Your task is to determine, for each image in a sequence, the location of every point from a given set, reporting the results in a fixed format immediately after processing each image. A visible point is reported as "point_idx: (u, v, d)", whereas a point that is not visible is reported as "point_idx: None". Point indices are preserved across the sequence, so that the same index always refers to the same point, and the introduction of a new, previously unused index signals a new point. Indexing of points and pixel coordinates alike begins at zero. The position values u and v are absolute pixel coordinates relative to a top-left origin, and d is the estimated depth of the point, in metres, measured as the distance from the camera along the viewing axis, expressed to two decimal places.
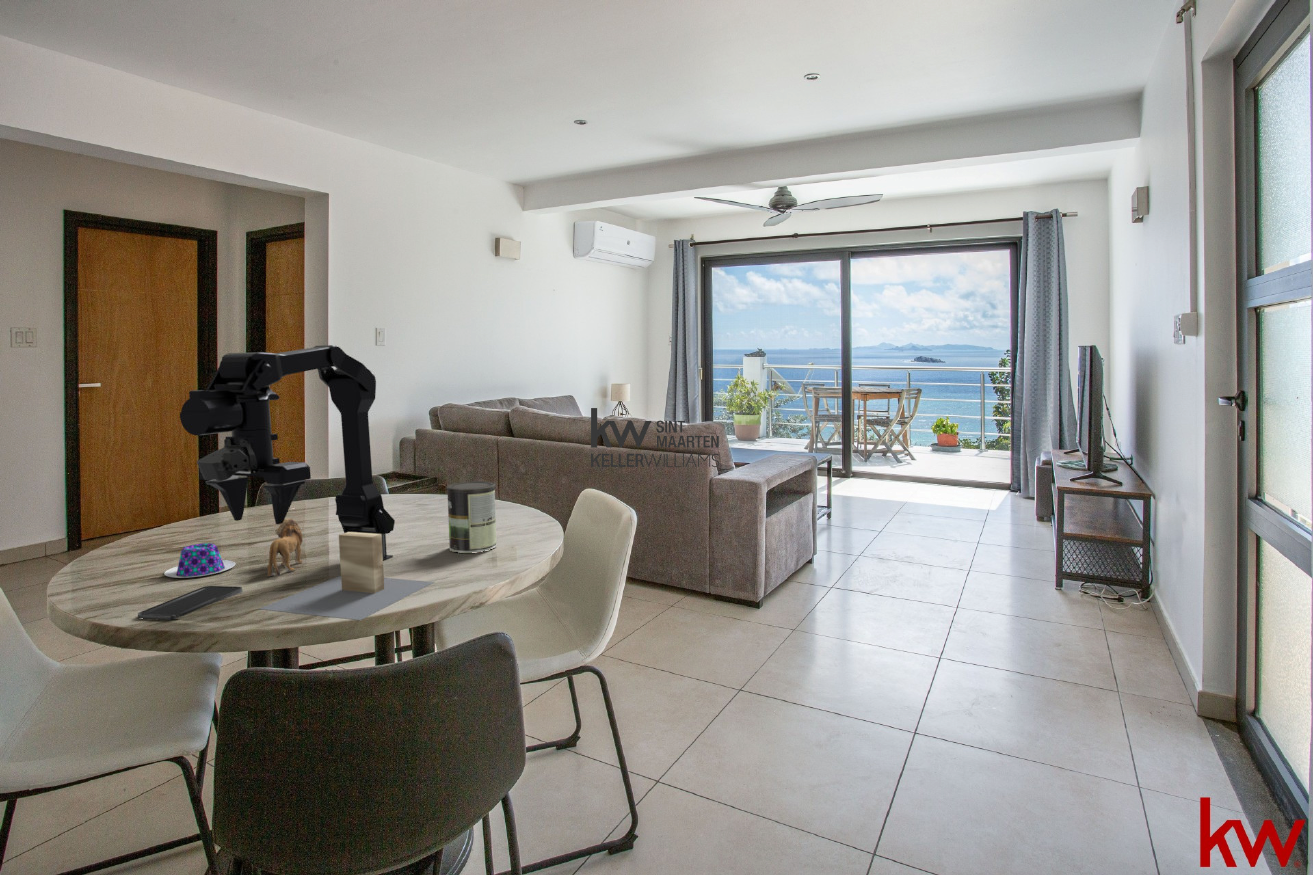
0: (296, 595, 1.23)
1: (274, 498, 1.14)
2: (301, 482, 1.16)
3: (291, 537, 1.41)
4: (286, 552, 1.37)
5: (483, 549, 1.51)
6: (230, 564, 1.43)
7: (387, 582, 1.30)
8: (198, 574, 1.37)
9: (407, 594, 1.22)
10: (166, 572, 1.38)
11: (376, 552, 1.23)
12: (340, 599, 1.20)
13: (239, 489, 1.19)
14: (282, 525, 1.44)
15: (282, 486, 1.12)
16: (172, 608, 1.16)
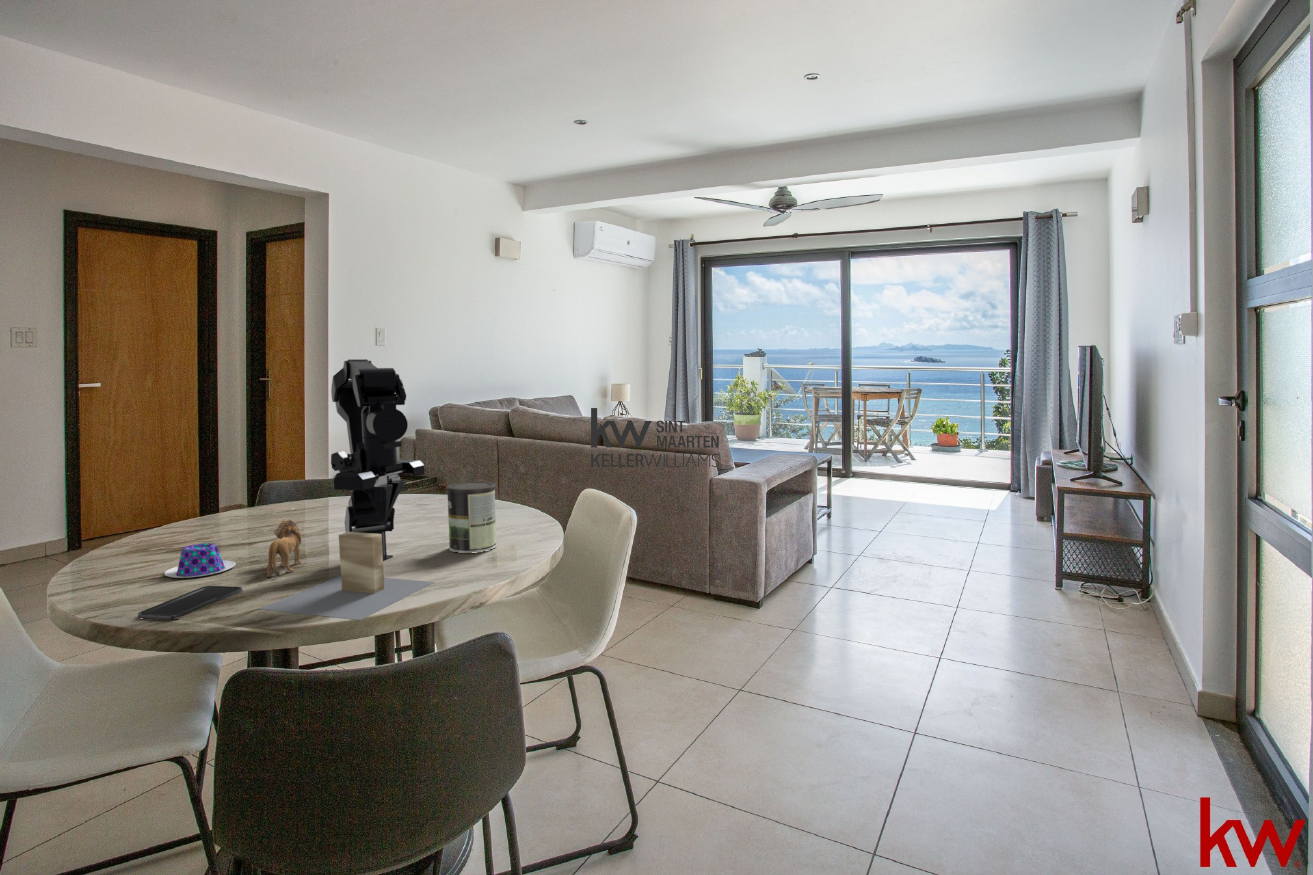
0: (296, 595, 1.23)
1: None
2: (377, 487, 1.26)
3: (290, 538, 1.41)
4: (285, 553, 1.37)
5: (483, 549, 1.51)
6: (230, 564, 1.43)
7: (387, 582, 1.30)
8: (198, 574, 1.37)
9: (407, 594, 1.22)
10: (166, 572, 1.38)
11: (376, 552, 1.23)
12: (340, 599, 1.20)
13: None
14: (281, 526, 1.43)
15: None
16: (172, 608, 1.16)
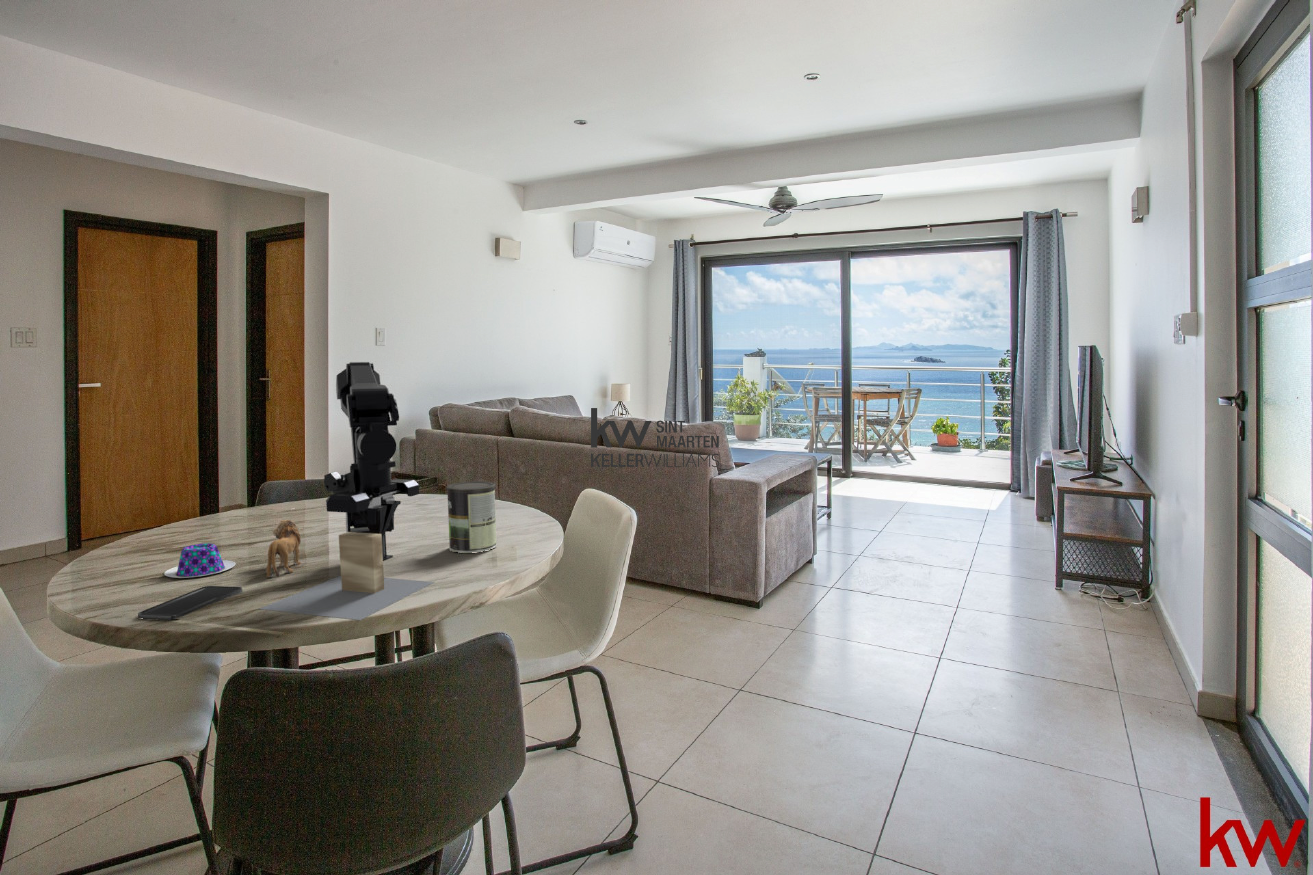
0: (296, 595, 1.23)
1: None
2: (370, 509, 1.24)
3: (290, 538, 1.40)
4: (285, 553, 1.36)
5: (483, 549, 1.51)
6: (230, 564, 1.43)
7: (387, 582, 1.30)
8: (199, 574, 1.37)
9: (407, 594, 1.22)
10: (166, 572, 1.37)
11: (376, 552, 1.23)
12: (340, 599, 1.20)
13: None
14: (280, 526, 1.43)
15: None
16: (172, 608, 1.16)
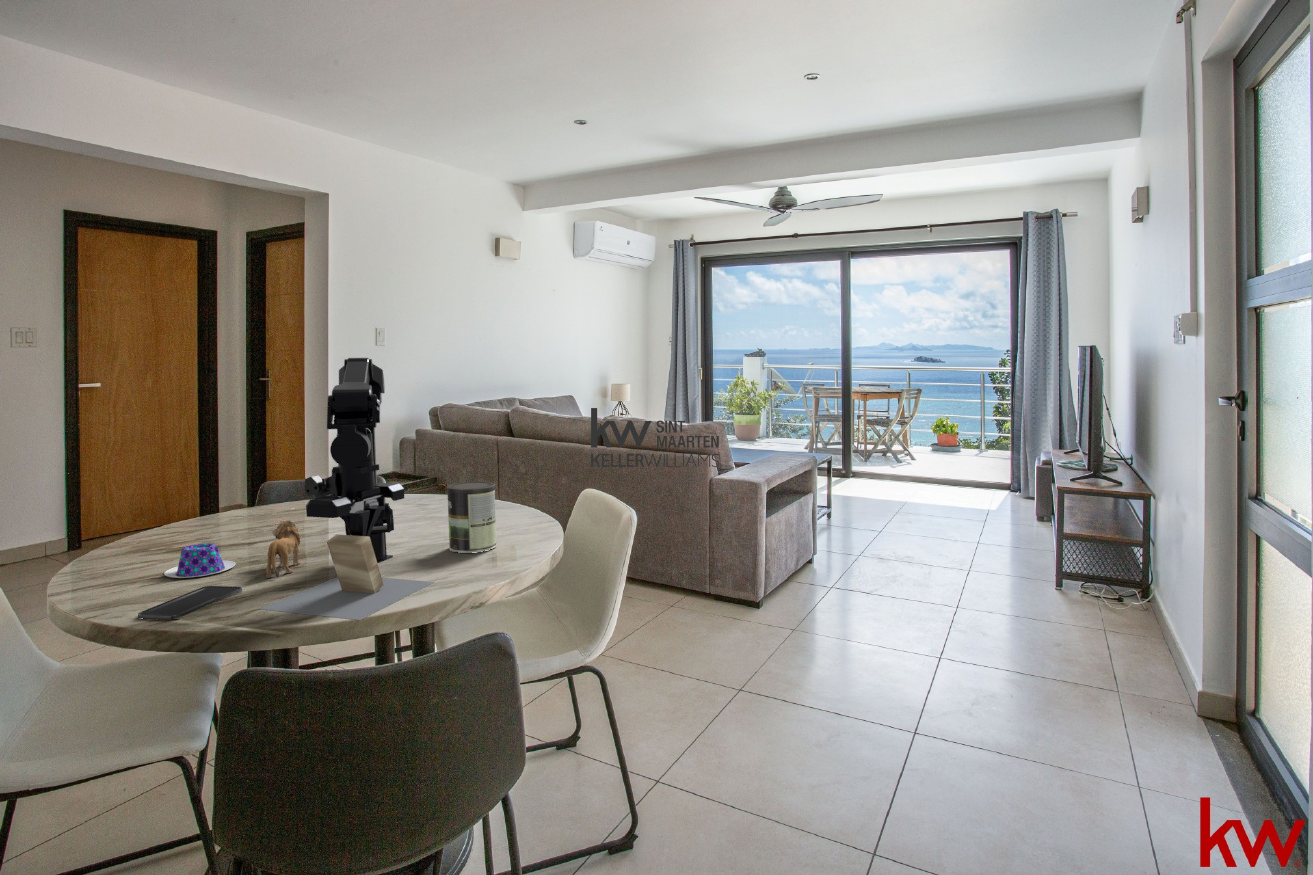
0: (296, 595, 1.23)
1: None
2: (352, 514, 1.20)
3: (289, 538, 1.40)
4: (285, 553, 1.36)
5: (483, 549, 1.51)
6: (230, 564, 1.44)
7: (387, 582, 1.30)
8: (199, 574, 1.37)
9: (407, 594, 1.22)
10: (166, 572, 1.37)
11: (368, 555, 1.21)
12: (340, 599, 1.20)
13: None
14: (280, 526, 1.43)
15: None
16: (172, 608, 1.16)
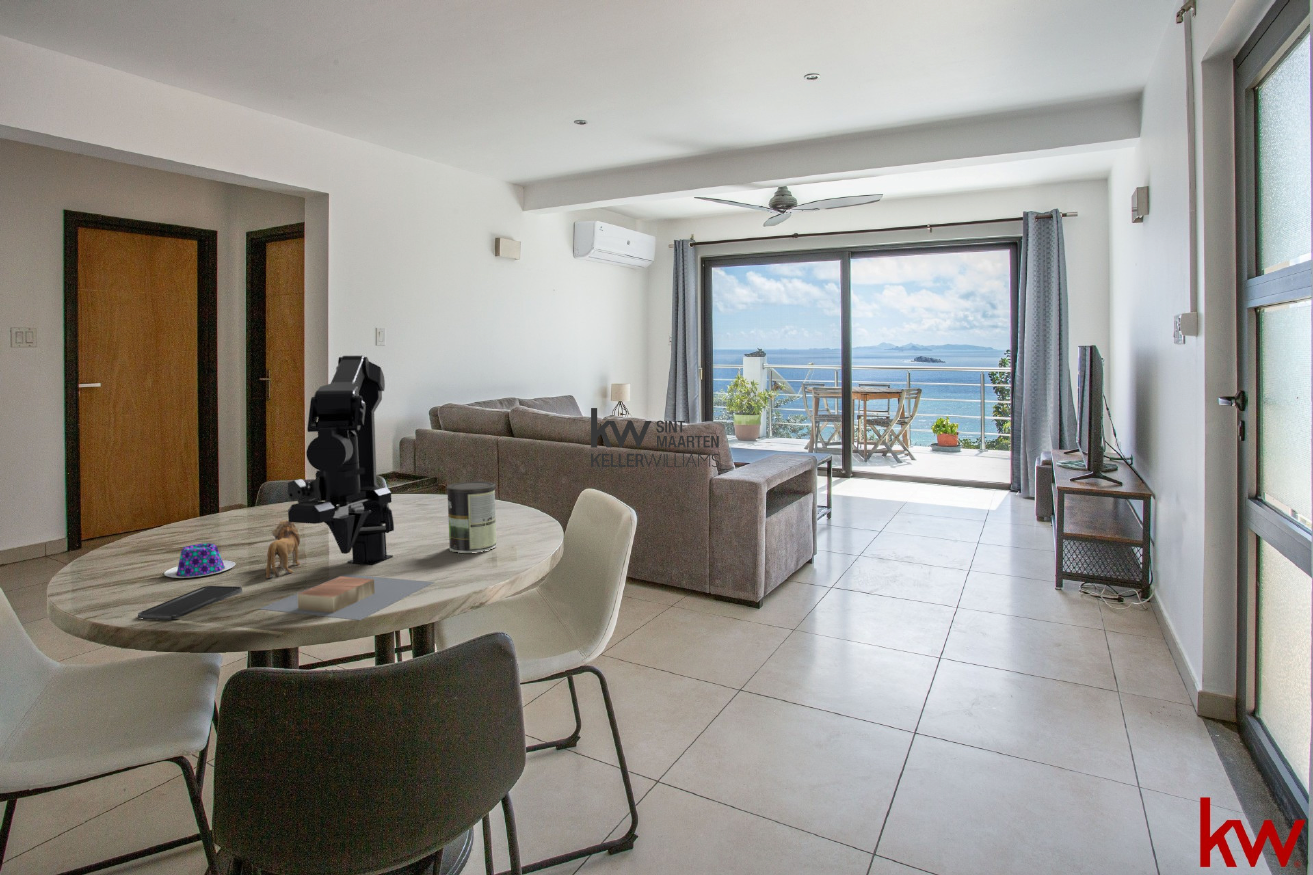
0: (296, 595, 1.23)
1: None
2: (337, 519, 1.16)
3: (289, 538, 1.40)
4: (284, 554, 1.36)
5: (483, 549, 1.51)
6: (230, 564, 1.44)
7: (387, 582, 1.30)
8: (199, 574, 1.37)
9: (407, 594, 1.22)
10: (166, 573, 1.37)
11: (346, 601, 1.16)
12: None
13: None
14: (279, 526, 1.42)
15: None
16: (172, 608, 1.16)
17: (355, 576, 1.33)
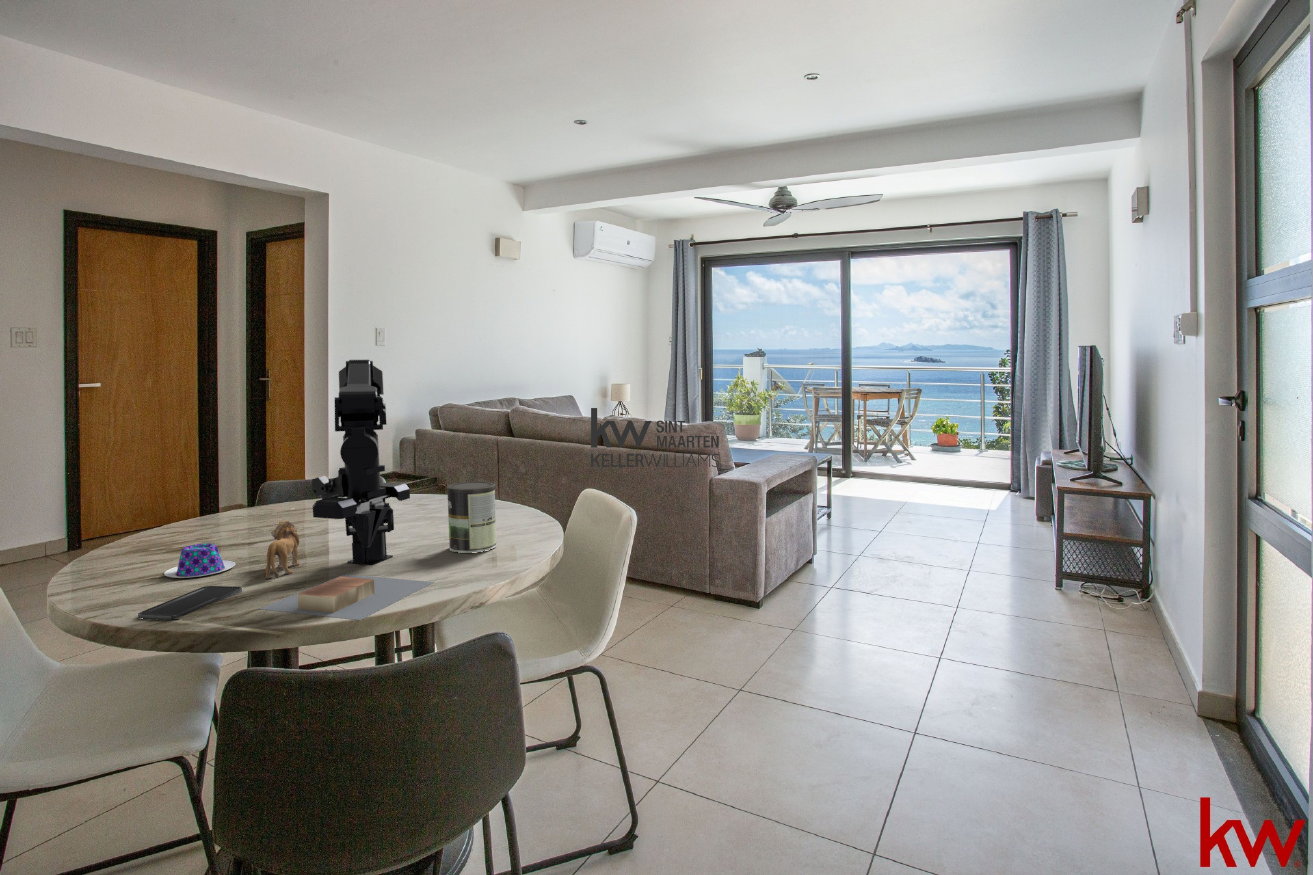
0: (296, 595, 1.23)
1: None
2: (358, 515, 1.22)
3: (288, 539, 1.40)
4: (284, 554, 1.36)
5: (483, 549, 1.51)
6: (229, 564, 1.44)
7: (387, 582, 1.30)
8: (200, 574, 1.37)
9: (407, 594, 1.22)
10: (165, 573, 1.37)
11: (346, 601, 1.16)
12: None
13: None
14: (278, 527, 1.42)
15: None
16: (173, 608, 1.16)
17: (355, 576, 1.33)
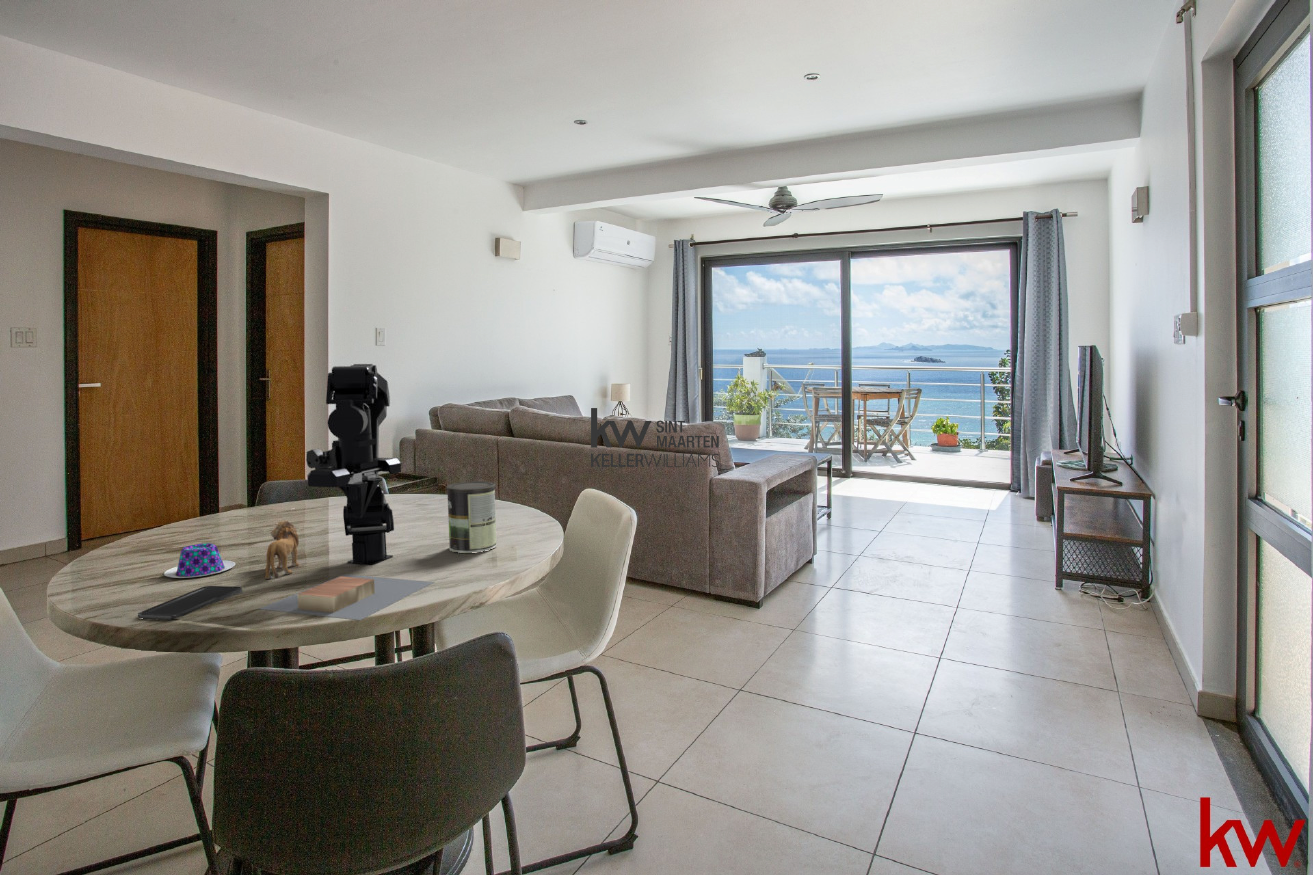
0: (296, 595, 1.23)
1: None
2: (351, 485, 1.27)
3: (288, 539, 1.40)
4: (284, 554, 1.36)
5: (483, 549, 1.51)
6: (229, 564, 1.44)
7: (387, 582, 1.30)
8: (200, 574, 1.37)
9: (407, 594, 1.22)
10: (165, 573, 1.37)
11: (346, 601, 1.16)
12: None
13: None
14: (278, 527, 1.42)
15: None
16: (173, 608, 1.16)
17: (355, 576, 1.33)
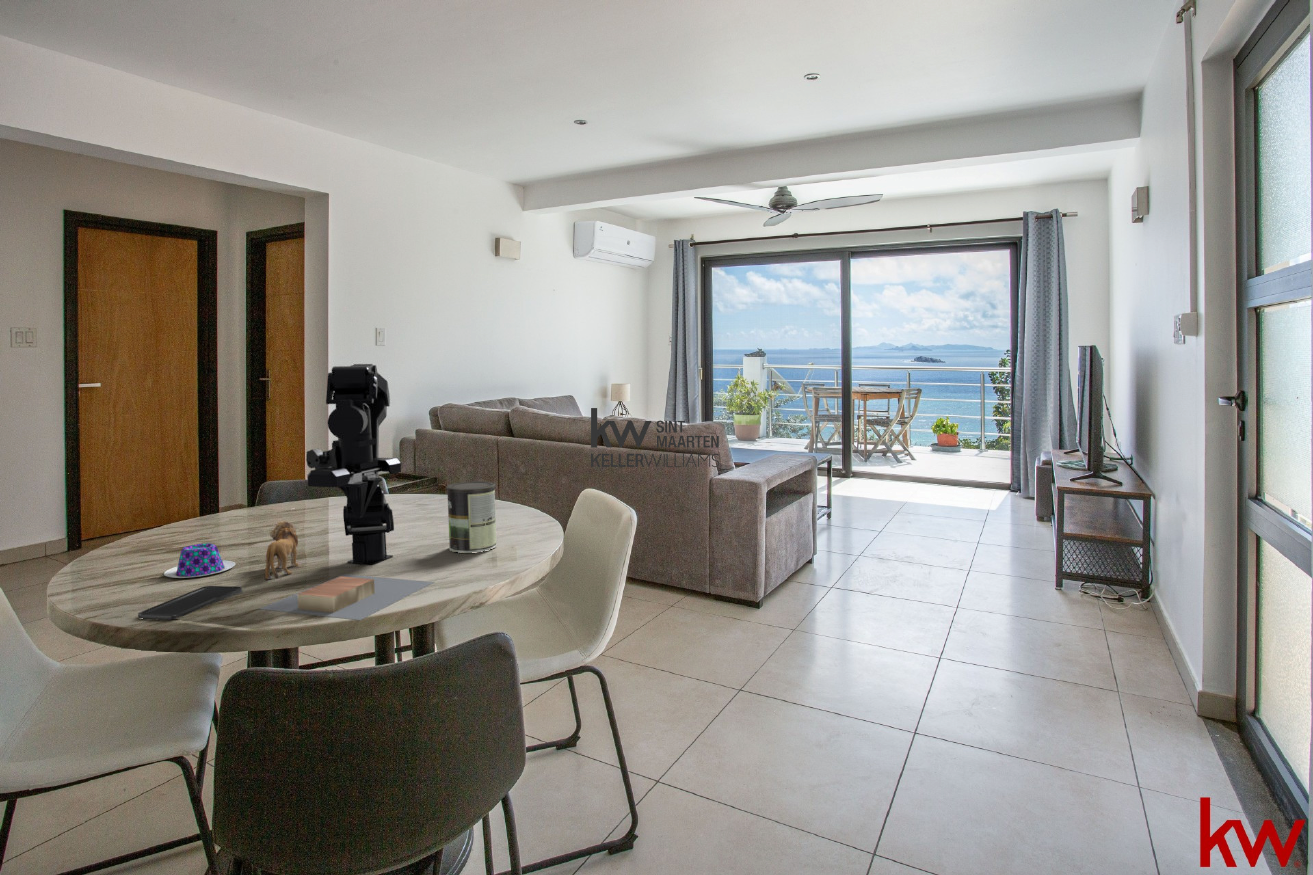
0: (296, 595, 1.23)
1: None
2: (351, 485, 1.27)
3: (287, 539, 1.39)
4: (283, 555, 1.35)
5: (483, 549, 1.51)
6: (229, 564, 1.44)
7: (387, 582, 1.30)
8: (200, 574, 1.37)
9: (407, 594, 1.22)
10: (165, 573, 1.37)
11: (346, 601, 1.16)
12: None
13: None
14: (277, 527, 1.42)
15: None
16: (173, 608, 1.16)
17: (355, 576, 1.33)
